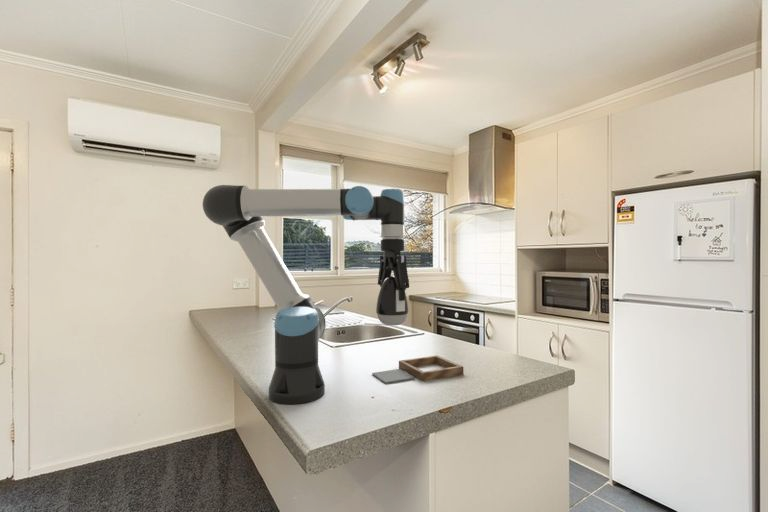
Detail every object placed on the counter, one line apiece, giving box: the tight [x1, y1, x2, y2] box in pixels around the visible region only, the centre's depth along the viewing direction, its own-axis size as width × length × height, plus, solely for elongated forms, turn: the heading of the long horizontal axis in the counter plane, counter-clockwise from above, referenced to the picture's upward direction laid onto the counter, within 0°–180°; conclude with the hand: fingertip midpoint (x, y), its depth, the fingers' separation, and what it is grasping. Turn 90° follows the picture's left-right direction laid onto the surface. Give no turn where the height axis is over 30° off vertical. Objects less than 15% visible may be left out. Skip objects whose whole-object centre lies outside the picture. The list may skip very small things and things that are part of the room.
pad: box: [371, 368, 416, 385], centre depth 118 cm, size 10×10×1 cm
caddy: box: [398, 355, 464, 382], centre depth 123 cm, size 15×15×2 cm
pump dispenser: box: [375, 275, 410, 326], centre depth 118 cm, size 10×10×15 cm
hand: (392, 309), depth 118 cm, fingers closed on pump dispenser, 10 cm apart
